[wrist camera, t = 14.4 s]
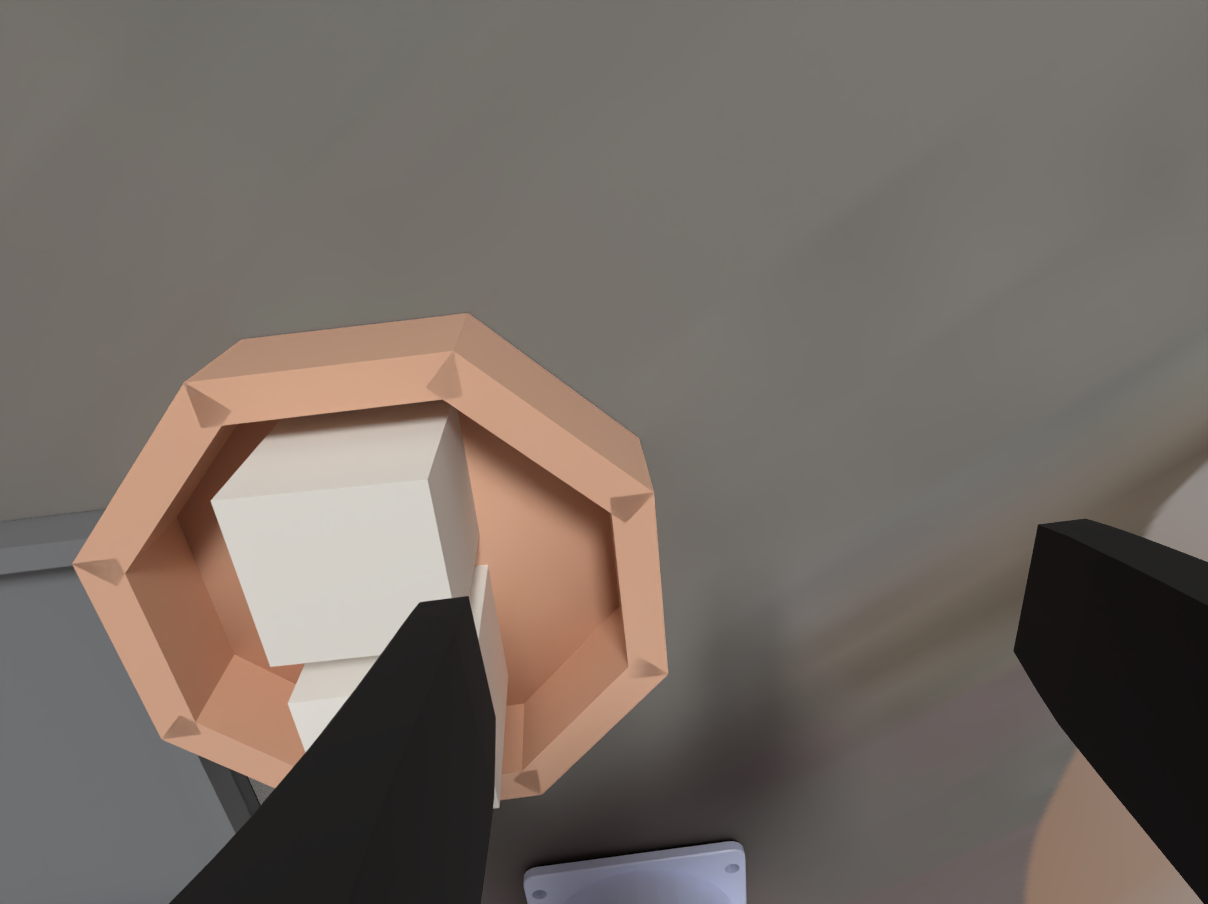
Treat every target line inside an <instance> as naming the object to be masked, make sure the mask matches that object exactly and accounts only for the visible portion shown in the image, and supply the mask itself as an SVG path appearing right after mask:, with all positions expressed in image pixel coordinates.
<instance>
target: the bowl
mask: <svg viewBox="0 0 1208 904" xmlns="http://www.w3.org/2000/svg"><path fill="white" fill-rule="evenodd" d="M442 399H443V400H444V401H446V402H447V403H449V404H450V405H452V406H453V407H455V408H456V409H458V414H459V419H460V425H461V431H462V436H463V442H464V448H465V453H466V459H467V465H468V470H469V476H470V482H471V487H472V493H473V499H474V504H475V510H476V516H477V521H478V527H479V533H480V534H479V540H478V547H477V553H476V559H475V566H480V565H488V566H489V572H490V577H491V583H492V588H493V594H494V599H495V605H496V611H497V616H498V622H499V627H500V633H501V638H502V644H503V649H504V655H505V660H506V666H507V671H508V688H507V703H506V718H505V733H504V748H503V763H502V777H501V792H500V800H506V799H514V798H521V797H529V796H536V795H542V794H543V793H544V792H545V791H546V790H547V789H548V788H549V787H550V786H551V785H552V784H554V783H555V782H556V781H557V780H558V779H559V778H560V777H561V776H562V775H563V774H564V773H565V772H566V771H567V770H568V769H569V768H570V767H571V766H572V765H573V764H575V763H576V762H577V761H578V760H579V759H580V758H581V757H582V756H583V755H584V754H585V753H586V752H587V751H588V750H589V749H590V748H591V747H592V746H593V745H594V744H595V743H597V742H598V741H599V740H600V739H601V738H602V737H603V736H604V735H605V734H606V733H607V732H608V731H609V730H610V729H611V728H612V727H613V726H614V725H615V724H616V723H618V722H619V721H620V720H621V719H622V718H623V717H624V716H625V715H626V714H627V713H628V712H629V711H630V710H631V709H632V708H633V707H634V706H635V705H636V704H637V703H638V702H640V701H641V700H642V699H643V698H644V697H645V696H646V695H647V694H648V693H649V692H650V691H651V690H652V689H653V688H654V687H655V686H656V685H657V684H658V683H659V682H661V681H662V680H663V679H664V678H665V677H666V676H667V675H668V666H667V653H666V640H665V628H664V615H663V602H662V589H661V577H660V564H659V551H658V538H657V525H656V513H655V500H654V490H653V487H652V483H651V480H650V476H649V473H648V469H647V466H646V462H645V459H644V455H643V452H642V448H641V444H640V441H639V438H638V437H636V436H635V435H634V434H632V433H631V432H630V431H628V430H627V429H626V428H624V427H623V426H621V425H620V424H619V423H617V422H616V421H615V420H613V419H612V418H611V417H609V416H608V415H606V414H605V413H604V412H602V411H601V410H600V409H598V408H597V407H596V406H594V405H593V404H591V403H590V402H589V401H587V400H586V399H585V398H583V397H582V396H581V395H579V394H578V393H576V392H575V391H574V390H572V389H571V388H570V387H568V386H567V385H566V384H564V383H563V382H561V381H560V380H559V379H557V378H556V377H555V376H553V375H552V374H551V373H549V372H548V371H546V370H545V369H544V368H542V367H541V366H540V365H538V364H537V363H536V362H534V361H533V360H531V359H530V358H529V357H527V356H526V355H525V354H523V353H522V352H521V351H519V350H518V349H517V348H515V347H514V346H512V345H511V344H510V343H508V342H507V341H506V340H504V339H503V338H502V337H500V336H499V335H497V334H496V333H495V332H493V331H492V330H491V329H489V328H488V327H487V326H485V325H484V324H482V323H481V322H480V321H478V320H477V319H476V318H474V317H473V316H472V315H470V314H469V313H465V314H456V315H447V316H439V317H430V318H422V319H413V320H404V321H396V322H387V323H379V324H370V325H361V326H353V327H344V328H336V329H327V330H318V331H310V332H301V333H293V334H284V335H275V336H267V337H258V338H250V339H242V340H240V341H239V342H238V343H236V344H235V345H233V346H232V347H231V348H229V349H228V350H227V351H225V352H224V353H223V354H221V355H220V356H219V357H217V358H216V359H215V360H213V361H212V362H211V363H209V364H208V365H207V366H205V367H204V368H203V369H201V370H200V371H199V372H197V373H196V374H195V375H193V376H192V377H191V378H189V379H188V380H187V381H185V382H184V384H183V385H182V387H181V388H180V390H179V392H178V393H177V395H176V397H175V398H174V400H173V401H172V403H171V405H170V406H169V408H168V410H167V411H166V413H165V414H164V416H163V418H162V419H161V421H160V422H159V424H158V426H157V427H156V429H155V431H154V432H153V434H152V435H151V437H150V439H149V440H148V442H147V444H146V445H145V447H144V448H143V450H142V452H141V453H140V455H139V456H138V458H137V460H136V461H135V463H134V465H133V466H132V468H131V469H130V471H129V473H128V474H127V476H126V478H125V479H124V481H123V482H122V484H121V486H120V487H119V489H118V490H117V492H116V494H115V495H114V497H113V499H112V500H111V502H110V503H109V505H108V507H107V508H106V510H105V512H104V513H103V515H102V516H101V518H100V520H99V521H98V523H97V524H96V526H95V528H94V529H93V531H92V533H91V534H90V536H89V537H88V539H87V541H86V542H85V544H84V546H83V547H82V549H81V550H80V552H79V554H78V555H77V557H76V558H75V560H74V562H73V563H72V565H73V567H74V569H75V571H76V573H77V575H78V577H79V579H80V581H81V583H82V584H83V586H84V588H85V590H86V592H87V594H88V596H89V598H90V600H91V602H92V604H93V606H94V608H95V610H96V612H97V614H98V616H99V618H100V620H101V622H102V624H103V626H104V628H105V630H106V632H107V633H108V635H109V637H110V639H111V641H112V643H113V645H114V647H115V649H116V651H117V653H118V655H119V657H120V659H121V661H122V663H123V665H124V667H125V669H126V671H127V673H128V675H129V677H130V679H131V681H132V682H133V684H134V686H135V688H136V690H137V692H138V694H139V696H140V698H141V700H142V702H143V704H144V706H145V708H146V710H147V712H148V714H149V716H150V718H151V720H152V722H153V724H154V726H155V728H156V730H157V731H158V733H159V735H160V737H161V739H162V740H164V741H166V742H169V743H171V744H173V745H176V746H178V747H180V748H183V749H185V750H187V751H190V752H192V753H194V754H197V755H199V756H201V757H204V758H206V759H208V760H211V761H213V762H215V763H218V764H220V765H222V766H225V767H227V768H229V769H232V770H234V771H236V772H239V773H241V774H243V775H246V776H248V777H250V778H252V779H255V780H257V781H259V782H262V783H264V784H266V785H269V786H271V787H273V788H276V787H277V786H278V784H279V783H280V782H281V781H282V780H283V779H284V777H285V776H286V775H287V774H288V773H289V771H290V770H291V769H292V768H293V767H294V766H295V764H296V763H297V762H298V761H299V760H300V758H301V757H302V756H303V755H304V754H305V750H304V747H303V744H302V742H301V739H300V736H299V733H298V731H297V728H296V725H295V722H294V720H293V717H292V714H291V712H290V709H289V706H288V701H289V699H290V697H291V695H292V692H293V690H294V688H295V685H296V683H297V681H298V679H299V676H300V674H301V672H302V669H303V667H304V665H305V663H302V664H293V665H284V666H274V667H270V665H269V662H268V659H267V656H266V653H265V651H264V648H263V645H262V642H261V640H260V637H259V634H258V631H257V629H256V626H255V623H254V620H253V617H252V615H251V612H250V609H249V606H248V604H247V601H246V598H245V595H244V592H243V590H242V587H241V584H240V581H239V579H238V576H237V573H236V570H235V567H234V565H233V562H232V559H231V556H230V554H229V551H228V548H227V545H226V542H225V540H224V537H223V534H222V531H221V529H220V526H219V523H218V520H217V517H216V515H215V512H214V509H213V506H212V504H211V500H212V499H213V497H214V496H215V495H216V494H217V493H218V492H219V490H220V489H221V488H222V487H223V486H224V485H225V484H226V482H227V481H228V480H229V479H230V478H231V477H232V475H233V474H234V473H235V472H236V471H237V470H238V468H239V467H240V466H241V465H242V464H243V463H244V462H245V460H246V459H247V458H248V457H249V456H250V455H251V453H252V452H253V451H254V450H255V449H256V448H257V446H258V445H259V444H260V443H261V442H262V441H263V440H264V438H265V437H266V436H267V435H268V434H269V433H270V431H271V430H272V429H273V428H274V427H275V426H276V424H277V423H278V422H279V421H280V420H281V419H282V418H291V417H299V416H308V415H316V414H324V413H333V412H341V411H350V410H358V409H367V408H375V407H383V406H392V405H400V404H409V403H417V402H425V401H434V400H442Z"/></svg>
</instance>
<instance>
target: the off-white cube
mask: <svg viewBox="0 0 1208 904" xmlns="http://www.w3.org/2000/svg"><path fill="white" fill-rule="evenodd" d="M211 504H212V506H213V509H214V512H215V515H216V517H217V520H218V523H219V526H220V529H221V531H222V534H223V537H224V540H225V542H226V545H227V548H228V551H229V554H230V556H231V559H232V562H233V565H234V567H235V570H236V573H237V576H238V579H239V581H240V584H241V587H242V590H243V592H244V595H245V598H246V601H247V604H248V606H249V609H250V612H251V615H252V617H253V620H254V623H255V626H256V629H257V631H258V634H259V637H260V640H261V642H262V645H263V648H264V651H265V653H266V656H267V659H268V662H269V665H270V667H274V666H284V665H293V664H302V663H311V662H321V661H330V660H339V659H349V658H358V657H367V656H377V655H381V653H382V652H383V651H384V649H385V648H386V646H387V645H388V644H389V642H390V641H391V639H392V638H393V637H394V635H395V634H396V633H397V631H398V630H399V628H400V627H401V626H402V624H403V623H404V621H405V620H406V619H407V617H408V616H409V615H410V613H411V612H412V611H413V610H414V608H415V607H416V606H417V605H418V604H419V602H424V601H432V600H440V599H448V598H456V597H464V596H469V597H470V591H471V585H472V578H473V572H474V566H475V559H476V553H477V547H478V540H479V534H480V533H479V527H478V521H477V516H476V510H475V504H474V499H473V493H472V487H471V482H470V476H469V470H468V465H467V459H466V453H465V448H464V442H463V436H462V431H461V425H460V419H459V414H458V409H456V408H455V407H453V406H452V405H450V404H449V403H447V402H446V401H444V400H443V399H442V400H434V401H425V402H417V403H409V404H400V405H392V406H383V407H375V408H367V409H358V410H350V411H341V412H333V413H324V414H316V415H308V416H299V417H291V418H282V419H281V420H280V421H279V422H278V423H277V424H276V426H275V427H274V428H273V429H272V430H271V431H270V433H269V434H268V435H267V436H266V437H265V438H264V440H263V441H262V442H261V443H260V444H259V445H258V446H257V448H256V449H255V450H254V451H253V452H252V453H251V455H250V456H249V457H248V458H247V459H246V460H245V462H244V463H243V464H242V465H241V466H240V467H239V468H238V470H237V471H236V472H235V473H234V474H233V475H232V477H231V478H230V479H229V480H228V481H227V482H226V484H225V485H224V486H223V487H222V488H221V489H220V490H219V492H218V493H217V494H216V495H215V496H214V497H213V499H212V500H211Z"/></svg>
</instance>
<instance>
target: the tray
mask: <svg viewBox="0 0 1208 904" xmlns="http://www.w3.org/2000/svg"><path fill="white" fill-rule="evenodd" d="M105 510H106V509H103V510H95V511H86V512H78V513H70V514H62V515H53V516H45V517H37V518H28V519H20V520H12V521H4V522H0V904H169V903H170V902H171V901H172V900H173V899H174V898H175V897H176V896H177V895H178V894H179V893H180V892H181V891H182V890H183V889H184V888H185V887H186V886H187V885H188V883H189V882H190V881H191V880H192V879H193V878H194V877H195V876H196V875H197V874H198V873H199V872H200V871H201V870H202V869H203V868H204V867H205V866H206V865H207V864H208V863H209V862H210V861H211V860H212V859H213V858H214V857H215V856H216V854H217V853H218V852H219V851H220V850H221V849H222V848H223V847H224V846H225V845H226V844H227V843H228V842H229V840H230V839H231V838H232V837H233V836H234V835H235V834H236V833H237V832H238V830H239V829H240V828H241V827H242V826H243V825H244V824H245V823H246V822H247V821H248V819H249V818H250V817H251V816H252V815H253V814H254V813H255V812H256V810H257V809H258V808H259V807H260V805H259V802H258V800H257V798H256V796H255V794H254V791H253V789H252V787H251V785H250V783H249V780H248V778H247V776H246V775H243V774H241V773H239V772H236V771H234V770H232V769H229V768H227V767H225V766H222V765H220V764H218V763H215V762H213V761H211V760H208V759H206V758H204V757H201V756H199V755H197V754H194V753H192V752H190V751H187V750H185V749H183V748H180V747H178V746H176V745H173V744H171V743H169V742H166V741H164V740H162V739H161V737H160V735H159V733H158V731H157V730H156V728H155V726H154V724H153V722H152V720H151V718H150V716H149V714H148V712H147V710H146V708H145V706H144V704H143V702H142V700H141V698H140V696H139V694H138V692H137V690H136V688H135V686H134V684H133V682H132V681H131V679H130V677H129V675H128V673H127V671H126V669H125V667H124V665H123V663H122V661H121V659H120V657H119V655H118V653H117V651H116V649H115V647H114V645H113V643H112V641H111V639H110V637H109V635H108V633H107V632H106V630H105V628H104V626H103V624H102V622H101V620H100V618H99V616H98V614H97V612H96V610H95V608H94V606H93V604H92V602H91V600H90V598H89V596H88V594H87V592H86V590H85V588H84V586H83V584H82V583H81V581H80V579H79V577H78V575H77V573H76V571H75V569H74V567H73V565H72V563H73V562H74V560H75V558H76V557H77V555H78V554H79V552H80V550H81V549H82V547H83V546H84V544H85V542H86V541H87V539H88V537H89V536H90V534H91V533H92V531H93V529H94V528H95V526H96V524H97V523H98V521H99V520H100V518H101V516H102V515H103V513H104V512H105Z"/></svg>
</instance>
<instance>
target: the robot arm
mask: <svg viewBox="0 0 1208 904" xmlns="http://www.w3.org/2000/svg"><path fill="white" fill-rule="evenodd" d="M1014 653H1015V654H1016V656H1017V658H1018V659H1019V661H1020V663H1021V664H1022V666H1023V668H1024V670H1025V671H1026V673H1027V675H1028V676H1029V678H1030V680H1031V681H1032V683H1033V685H1034V686H1035V688H1036V690H1037V691H1038V693H1039V695H1040V696H1041V698H1042V699H1043V701H1044V702H1045V704H1046V705H1047V707H1048V708H1049V710H1050V712H1051V713H1052V715H1053V716H1054V718H1055V719H1056V721H1057V722H1058V724H1059V725H1060V726H1061V728H1062V729H1063V730H1064V732H1065V733H1066V734H1067V735H1068V737H1069V738H1070V739H1071V741H1072V742H1073V743H1074V744H1075V746H1076V747H1077V748H1078V749H1079V751H1080V752H1081V753H1082V754H1083V756H1084V757H1085V758H1086V759H1087V761H1088V762H1089V763H1090V764H1091V765H1092V767H1093V768H1094V769H1095V770H1096V772H1097V773H1098V774H1099V775H1100V777H1101V778H1102V779H1103V781H1104V782H1105V783H1106V784H1107V785H1108V787H1109V788H1110V789H1111V790H1112V791H1113V793H1114V794H1115V795H1116V796H1117V798H1118V799H1119V800H1120V801H1121V803H1122V804H1123V805H1124V806H1125V807H1126V809H1127V810H1128V811H1129V812H1130V814H1131V815H1132V816H1133V817H1134V818H1135V820H1136V821H1137V822H1138V823H1139V824H1140V826H1141V827H1142V828H1143V829H1144V831H1145V832H1146V833H1147V834H1148V835H1149V837H1150V838H1151V839H1152V840H1153V842H1154V843H1155V844H1156V845H1157V847H1158V848H1159V849H1160V850H1161V851H1162V853H1163V854H1164V855H1165V856H1166V858H1167V859H1168V860H1169V861H1170V863H1171V864H1172V865H1173V866H1174V867H1175V869H1176V870H1177V871H1178V872H1179V873H1180V875H1181V876H1182V877H1183V878H1184V880H1185V881H1186V882H1187V883H1188V885H1189V886H1190V887H1191V888H1192V889H1193V891H1194V892H1195V893H1196V894H1197V896H1198V897H1199V898H1200V899H1201V901H1202V902H1203V903H1204V904H1208V562H1206V561H1203V560H1201V559H1198V558H1196V557H1193V556H1190V555H1188V554H1185V553H1182V552H1180V551H1177V550H1175V549H1172V548H1170V547H1167V546H1164V545H1161V544H1159V543H1156V542H1153V541H1151V540H1148V539H1146V538H1143V537H1140V536H1137V535H1135V534H1132V533H1129V532H1126V531H1123V530H1120V529H1117V528H1114V527H1111V526H1108V525H1105V524H1102V523H1098V522H1095V521H1092V520H1088V519H1079V520H1071V521H1063V522H1055V523H1047V524H1039V525H1038V528H1037V533H1036V538H1035V543H1034V549H1033V554H1032V559H1031V564H1030V569H1029V574H1028V579H1027V585H1026V590H1025V595H1024V600H1023V605H1022V610H1021V615H1020V621H1019V626H1018V631H1017V636H1016V641H1015V646H1014ZM495 746H496V716H495V712H494V707H493V703H492V698H491V694H490V689H489V685H488V681H487V676H486V672H485V667H484V663H483V658H482V654H481V649H480V645H479V640H478V636H477V631H476V627H475V623H474V618H473V614H472V609H471V605H470V600H469V596H464V597H456V598H448V599H440V600H432V601H424V602H419V604H418V605H417V606H416V607H415V608H414V610H413V611H412V612H411V613H410V615H409V616H408V617H407V619H406V620H405V621H404V623H403V624H402V626H401V627H400V628H399V630H398V631H397V633H396V634H395V635H394V637H393V638H392V639H391V641H390V642H389V644H388V645H387V646H386V648H385V649H384V651H383V652H382V653H381V655H380V656H379V657H378V659H377V660H376V662H375V663H374V664H373V666H372V667H371V668H370V670H369V671H368V672H367V674H366V675H365V677H364V678H363V679H362V681H361V682H360V683H359V685H358V686H357V687H356V689H355V690H354V691H353V692H352V694H351V695H350V696H349V698H348V699H347V700H346V702H345V703H344V704H343V705H342V707H341V708H340V709H339V711H338V712H337V713H336V715H335V716H334V717H333V718H332V720H331V721H330V722H329V724H328V725H327V726H326V727H325V729H324V730H323V731H322V733H321V734H320V735H319V736H318V738H317V739H316V740H315V741H314V743H313V744H312V745H311V746H310V748H309V749H308V750H307V751H306V753H305V754H304V755H303V756H302V757H301V758H300V760H299V761H298V762H297V763H296V764H295V766H294V767H293V768H292V769H291V770H290V771H289V773H288V774H287V775H286V776H285V777H284V779H283V780H282V781H281V782H280V783H279V784H278V786H277V787H276V788H275V789H274V790H273V792H272V793H271V794H270V795H269V796H268V797H267V799H266V800H265V801H264V802H263V803H262V805H261V806H260V807H259V808H258V809H257V810H256V812H255V813H254V814H253V815H252V816H251V817H250V818H249V819H248V821H247V822H246V823H245V824H244V825H243V826H242V827H241V828H240V829H239V830H238V832H237V833H236V834H235V835H234V836H233V837H232V838H231V839H230V840H229V842H228V843H227V844H226V845H225V846H224V847H223V848H222V849H221V850H220V851H219V852H218V853H217V854H216V856H215V857H214V858H213V859H212V860H211V861H210V862H209V863H208V864H207V865H206V866H205V867H204V868H203V869H202V870H201V871H200V872H199V873H198V874H197V875H196V876H195V877H194V878H193V879H192V880H191V881H190V882H189V883H188V885H187V886H186V887H185V888H184V889H183V890H182V891H181V892H180V893H179V894H178V895H177V896H176V897H175V898H174V899H173V900H172V901H171V902H170V903H169V904H481V896H482V889H483V881H484V874H485V867H486V859H487V851H488V843H489V836H490V828H491V820H492V812H493V804H494V790H495ZM524 890H525V895H526V899H527V903H528V904H746V859H745V853H744V849H743V846H742V845H741V844H740V843H738V842H735V841H727V842H719V843H712V844H704V845H697V846H689V847H682V848H674V849H667V850H660V851H652V852H645V853H637V854H630V855H622V856H615V857H607V858H600V859H592V860H585V861H578V862H570V863H563V864H555V865H548V866H540V867H534V868H531V869H529V870H528V871H526V873H525V874H524Z"/></svg>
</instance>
